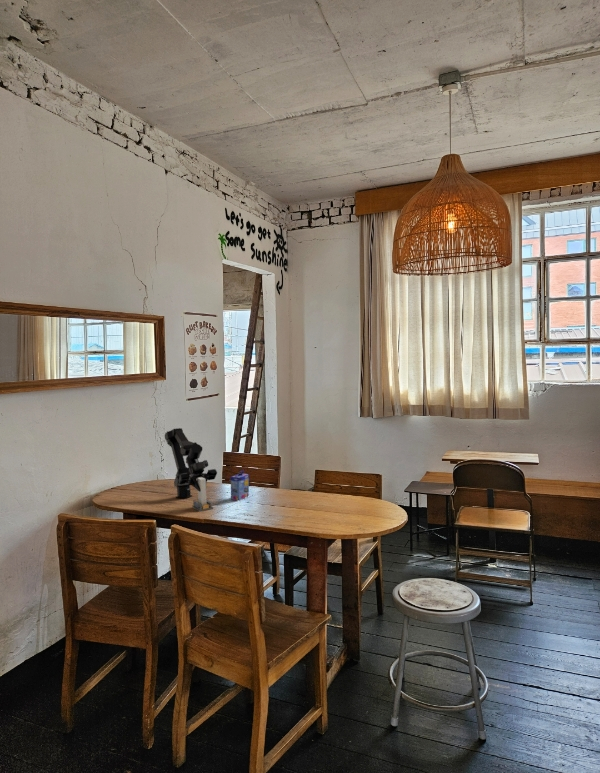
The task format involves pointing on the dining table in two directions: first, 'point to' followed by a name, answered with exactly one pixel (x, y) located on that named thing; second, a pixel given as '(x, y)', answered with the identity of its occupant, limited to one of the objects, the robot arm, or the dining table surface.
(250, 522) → the dining table surface
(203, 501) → the panel
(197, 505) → the rack
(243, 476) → the ink cartridge box
